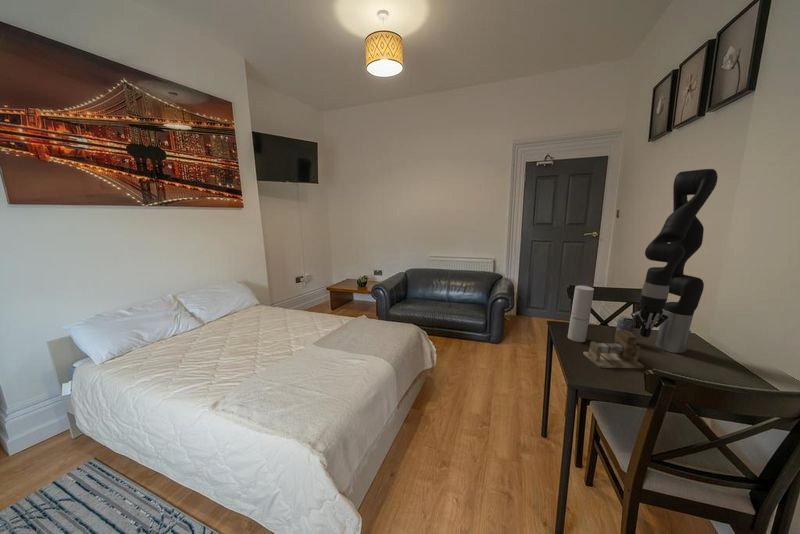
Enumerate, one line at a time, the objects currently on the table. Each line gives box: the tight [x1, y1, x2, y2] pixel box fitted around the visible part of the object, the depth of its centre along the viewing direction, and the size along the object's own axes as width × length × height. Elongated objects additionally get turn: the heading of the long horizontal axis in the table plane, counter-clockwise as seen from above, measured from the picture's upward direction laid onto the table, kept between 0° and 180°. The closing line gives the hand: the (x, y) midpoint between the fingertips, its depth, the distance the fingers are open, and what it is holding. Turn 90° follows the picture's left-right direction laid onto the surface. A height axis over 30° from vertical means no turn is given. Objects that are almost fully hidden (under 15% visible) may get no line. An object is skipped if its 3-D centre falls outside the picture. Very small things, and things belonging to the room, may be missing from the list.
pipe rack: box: [582, 341, 645, 369], centre depth 113 cm, size 17×10×7 cm, turn 89°
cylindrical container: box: [567, 285, 595, 343], centre depth 129 cm, size 7×7×25 cm
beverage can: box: [614, 315, 636, 338], centre depth 128 cm, size 6×7×12 cm
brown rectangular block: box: [613, 330, 638, 360], centre depth 112 cm, size 4×6×10 cm, turn 179°
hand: (644, 336), depth 111 cm, fingers closed
